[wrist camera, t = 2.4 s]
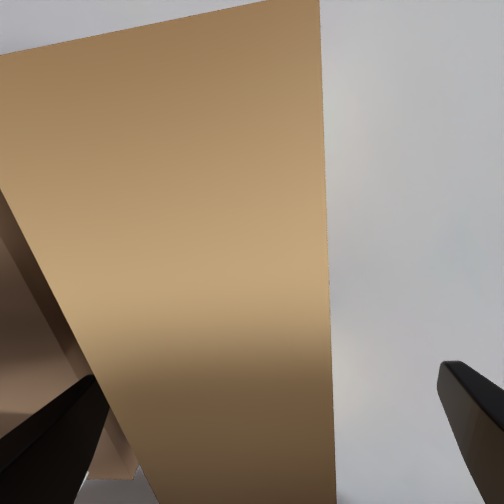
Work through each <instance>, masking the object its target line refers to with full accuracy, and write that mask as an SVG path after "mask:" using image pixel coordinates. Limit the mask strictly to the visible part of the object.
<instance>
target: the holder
mask: <svg viewBox="0 0 504 504" xmlns="http://www.w3.org/2000/svg"><path fill="white" fill-rule="evenodd" d="M88 374H94V373H93V371H92V369H91V367H90V365H89V363H88V361H87V359H86V357H85V355H84V353H83V352H82V350H81V348H80V346H79V344H78V342H77V340H76V338H75V336H74V334H73V332H72V330H71V328H70V326H69V324H68V322H67V320H66V318H65V316H64V314H63V312H62V310H61V308H60V306H59V304H58V302H57V300H56V298H55V296H54V294H53V292H52V290H51V288H50V286H49V284H48V282H47V280H46V278H45V276H44V274H43V272H42V270H41V268H40V266H39V264H38V262H37V260H36V258H35V256H34V254H33V252H32V250H31V248H30V246H29V245H28V243H27V241H26V239H25V237H24V235H23V233H22V231H21V229H20V227H19V225H18V223H17V221H16V219H15V217H14V215H13V213H12V211H11V209H10V207H9V205H8V203H7V201H6V199H5V197H4V195H3V193H2V191H1V189H0V438H2V437H3V436H5V435H6V434H7V433H9V432H10V431H11V430H13V429H14V428H15V427H17V426H18V425H19V424H21V423H22V422H23V421H25V420H26V419H27V418H29V417H30V416H32V415H33V414H34V413H36V412H37V411H38V410H40V409H41V408H42V407H44V406H45V405H46V404H48V403H49V402H50V401H52V400H53V399H55V398H56V397H57V396H59V395H60V394H61V393H63V392H64V391H65V390H67V389H68V388H69V387H71V386H72V385H73V384H75V383H76V382H78V381H79V380H80V379H82V378H83V377H84V376H86V375H88ZM138 465H139V462H138V461H137V459H136V457H135V455H134V453H133V451H132V449H131V447H130V445H129V443H128V441H127V439H126V437H125V435H124V433H123V431H122V429H121V427H120V425H119V423H118V421H117V419H116V417H115V415H114V413H113V411H112V409H111V407H110V410H109V413H108V416H107V419H106V422H105V425H104V428H103V431H102V434H101V436H100V439H99V442H98V445H97V448H96V451H95V454H94V457H93V459H92V462H91V464H90V467H89V469H88V471H87V474H86V476H85V478H84V481H85V479H115V480H133V478H134V475H135V473H136V470H137V468H138ZM84 481H83V483H84ZM83 483H82V485H83ZM82 485H81V487H82ZM80 489H81V488H80ZM79 491H80V490H79ZM78 493H79V492H78ZM77 495H78V494H77Z"/></svg>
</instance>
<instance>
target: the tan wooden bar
mask: <svg viewBox="0 0 504 504" xmlns="http://www.w3.org/2000/svg"><path fill="white" fill-rule="evenodd" d="M0 189H1V191H2V193H3V195H4V197H5V199H6V201H7V203H8V205H9V207H10V209H11V211H12V213H13V215H14V217H15V219H16V221H17V223H18V225H19V227H20V229H21V231H22V233H23V235H24V237H25V239H26V241H27V243H28V245H29V246H30V248H31V250H32V252H33V254H34V256H35V258H36V260H37V262H38V264H39V266H40V268H41V270H42V272H43V274H44V276H45V278H46V280H47V282H48V284H49V286H50V288H51V290H52V292H53V294H54V296H55V298H56V300H57V302H58V304H59V306H60V308H61V310H62V312H63V314H64V316H65V318H66V320H67V322H68V324H69V326H70V328H71V330H72V332H73V334H74V336H75V338H76V340H77V342H78V344H79V346H80V348H81V350H82V352H83V353H84V355H85V357H86V359H87V361H88V363H89V365H90V367H91V369H92V371H93V373H94V375H95V377H96V379H97V381H98V383H99V385H100V387H101V389H102V391H103V393H104V395H105V397H106V399H107V401H108V403H109V405H110V407H111V409H112V411H113V413H114V415H115V417H116V419H117V421H118V423H119V425H120V427H121V429H122V431H123V433H124V435H125V437H126V439H127V441H128V443H129V445H130V447H131V449H132V451H133V453H134V455H135V457H136V459H137V461H138V462H139V464H140V466H141V468H142V470H143V472H144V474H145V476H146V478H147V480H148V482H149V484H150V486H151V488H152V490H153V492H154V494H155V496H156V498H157V500H158V502H159V504H337V499H336V470H335V441H334V412H333V383H332V354H331V325H330V296H329V267H328V238H327V209H326V180H325V151H324V122H323V93H322V64H321V35H320V7H319V0H266V1H261V2H256V3H251V4H247V5H242V6H237V7H232V8H227V9H222V10H217V11H213V12H208V13H203V14H198V15H193V16H188V17H183V18H179V19H174V20H169V21H164V22H159V23H154V24H149V25H145V26H140V27H135V28H130V29H125V30H120V31H115V32H111V33H106V34H101V35H96V36H91V37H86V38H81V39H77V40H72V41H67V42H62V43H57V44H52V45H47V46H43V47H38V48H33V49H28V50H23V51H18V52H13V53H9V54H4V55H0Z"/></svg>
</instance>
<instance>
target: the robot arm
mask: <svg viewBox="0 0 504 504" xmlns="http://www.w3.org/2000/svg"><path fill="white" fill-rule="evenodd" d="M437 391H438V395H439V397H440V400H441V403H442V405H443V408H444V410H445V413H446V415H447V418H448V421H449V423H450V426H451V428H452V431H453V434H454V436H455V439H456V441H457V444H458V446H459V449H460V451H461V454H462V456H463V459H464V461H465V463H466V466H467V468H468V470H469V472H470V474H471V476H472V478H473V480H474V482H475V484H476V486H477V488H478V490H479V492H480V494H481V496H482V498H483V500H484V502H485V504H504V390H503V389H501V388H500V387H499V386H497V385H496V384H494V383H493V382H491V381H490V380H488V379H487V378H485V377H484V376H482V375H481V374H480V373H478V372H477V371H475V370H474V369H472V368H471V367H469V366H468V365H466V364H465V363H463V362H461V361H443V362H442V363H441V364H440V369H439V375H438V380H437ZM109 410H110V405H109V403H108V401H107V399H106V397H105V395H104V393H103V391H102V389H101V387H100V385H99V383H98V381H97V379H96V377H95V375H94V374H88V375H86V376H84V377H83V378H82V379H80V380H79V381H78V382H76V383H75V384H73V385H72V386H71V387H69V388H68V389H67V390H65V391H64V392H63V393H61V394H60V395H59V396H57V397H56V398H55V399H53V400H52V401H50V402H49V403H48V404H46V405H45V406H44V407H42V408H41V409H40V410H38V411H37V412H36V413H34V414H33V415H32V416H30V417H29V418H27V419H26V420H25V421H23V422H22V423H21V424H19V425H18V426H17V427H15V428H14V429H13V430H11V431H10V432H9V433H7V434H6V435H5V436H3V437H2V438H0V504H74V501H75V499H76V497H77V494H78V492H79V490H80V488H81V485H82V483H83V481H84V478H85V476H86V474H87V471H88V469H89V467H90V464H91V462H92V459H93V457H94V454H95V451H96V448H97V445H98V442H99V439H100V436H101V434H102V431H103V428H104V425H105V422H106V419H107V416H108V413H109Z"/></svg>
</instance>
